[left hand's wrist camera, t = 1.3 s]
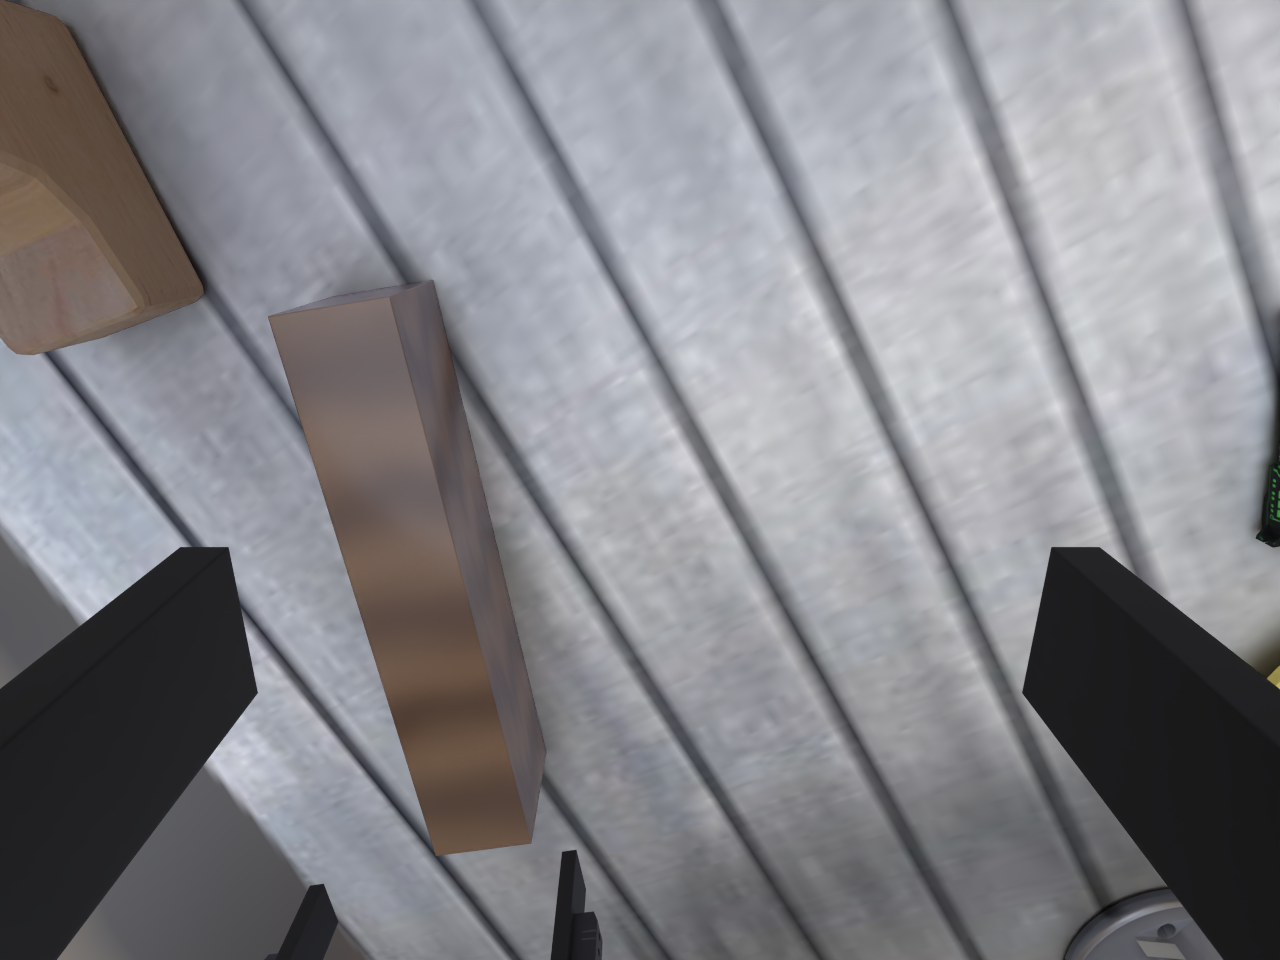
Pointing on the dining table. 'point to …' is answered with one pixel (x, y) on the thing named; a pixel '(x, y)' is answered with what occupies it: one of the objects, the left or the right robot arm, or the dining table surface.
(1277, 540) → the handgun
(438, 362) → the bar
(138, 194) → the decorative block
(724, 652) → the dining table surface
